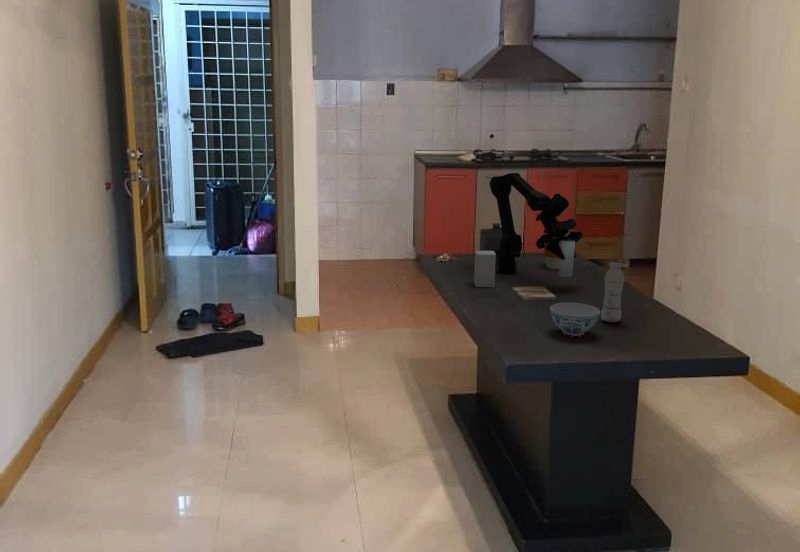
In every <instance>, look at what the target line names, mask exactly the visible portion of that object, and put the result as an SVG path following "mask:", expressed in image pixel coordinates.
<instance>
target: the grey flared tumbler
mask: <svg viewBox="0 0 800 552" xmlns="http://www.w3.org/2000/svg"><path fill="white" fill-rule="evenodd" d="M561 250H562V252H563V254H564V257H565V259H564V260H562V259H560V263H559V270H558V276H559V277H562V278H570V277H573V274H574V273H573V271H574V261H575V259H574V250H575V251H576V244H575V241H574V240H569V239H564V240H561Z"/></svg>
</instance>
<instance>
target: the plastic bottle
mask: <svg viewBox="0 0 800 552" xmlns="http://www.w3.org/2000/svg"><path fill="white" fill-rule="evenodd" d="M608 268H609V269H608V270H607V271H606V272H605V274H604V277H603V279H604V281H603V282H604V283H603V284H604V296H603V302H602V308H601V310H600V317H601V319H602V321H604V322H607V323H618V322H619V321H620V320H621V318H622V308H621V307H622V292H623V288H624V283H625V278H626V277H625V275H624V272H623V270H622V269H621V268H622V261H620V260H613V259H612V260H610V261H609V265H608Z"/></svg>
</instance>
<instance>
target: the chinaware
mask: <svg viewBox="0 0 800 552" xmlns="http://www.w3.org/2000/svg"><path fill="white" fill-rule="evenodd" d="M549 313H550V315H551V319H552V321H553V323H554V324H555V326H556V327H557V328H558V329H560V330H561V333H562V332H563V333H564V334H563V333H562V334H563V335H565V334H568V335H572V336H571V337H574V336H578V337H582V336H581V335H583V336H584V335H585V332H588V331H589V330H591V329H592V328H593V327H594V326H595V325H596V323H597V322H598V320H599V317H600V315H601V310H600V309H599V308H598V307H596V306H593V305H590V304H586V303H577V302H559V303H554V304H552V305H550V306H549Z"/></svg>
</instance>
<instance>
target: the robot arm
mask: <svg viewBox="0 0 800 552" xmlns="http://www.w3.org/2000/svg"><path fill="white" fill-rule="evenodd" d="M489 187H490V192H491V194H492V195H493V197H495V200H496V203H497V210H498V214H499V215H498V216H499V219H500V227H501V228H502V233H503V234H502V237H501V240H500V247H499V248H498V249H497V250H496V252H495V253H496V257H498V258H499V266H498V270H497V273H499V274H509V275H514V274H515V273H516V272H517V267H518V261H517V258H520V256H521V253H522V250H523V241H522V235H521V234H518V233H516V231H515V224H514V218H513V213H512V206H511V202H510V195H511V192H512V189H513V188H514V189H515V190H516V191H517V192H518V193H519V194H520V195H521V196H523V197H524V199H526V204H527V206H528V207H529V208H530V210H531V211H533V212H539V213H537V214H536V217H535V222H539V221H540V222H541V225H542V227H543V228H544V230H543V233H544V234H545V233H547V234H545V235H544V234H542V235H541V236H540V237H539V238H538V239H537V240H536V242H535V245H536V248H537V249H538V250H540V249H541V250H542V249H544V247H545V243H546V246H547V247H546V248H545V249H546V250H548V251H550V252H552V253H553V254H555V255H556V256H558V257H559V258H560V259H562V260H564V259H565V257H564V254H563V252H562V250H561V248H560V246H559V242H561V240H564V239H569V240H574V241H575V245H576V244H577V243H578V242H580V240H581V239H582V238H583V237H584V235H583V233H582V231H581V230H574V229H575V227H577V221H576V220H575V218H574V217H571V218H569V219H567V220H562V221H561V220H560V221H559V219H558V217H560V216H561V215H562V214H563V213H564V212H565V211H566V209H567V208H568V207H569V206H570V202H569V200H568V199H567V198H565V196H562V195H561V194H560V193H555V194H553V196H552V198H550V196H549V195H547V194H545V192H542V191H539V190H536V189H535V188H534V187H533V186H532V185H531V184H530V183H528V181H526V180H525V179H524V177H522V176H521V174H520V173H518V172H509V173H506V174H503V175H500V176H499V175H497V176H492V177H491V178H490V181H489ZM512 187H513V188H512ZM540 211H541V212H540ZM568 230H569V231H572V232H571V233H570V234H569V235H568V236H566V235H565V234H567V233H568ZM573 230H574V231H573ZM576 258H577V256H576V249H575V250H574V260H575V259H576Z"/></svg>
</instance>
